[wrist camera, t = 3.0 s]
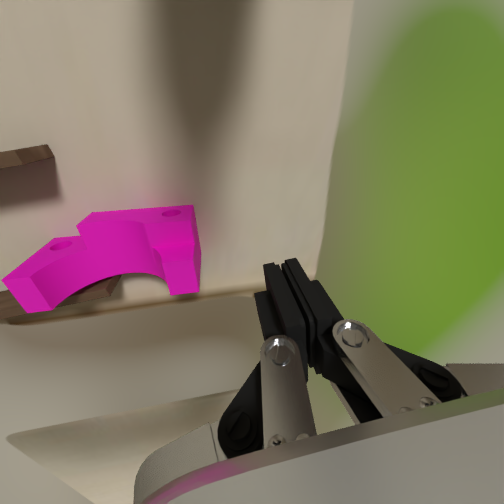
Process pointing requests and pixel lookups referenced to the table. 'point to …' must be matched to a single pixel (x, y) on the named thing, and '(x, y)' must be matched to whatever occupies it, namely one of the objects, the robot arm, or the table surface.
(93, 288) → the walnut bay
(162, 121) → the table surface
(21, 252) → the table surface
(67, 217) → the table surface
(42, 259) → the magenta curved block
